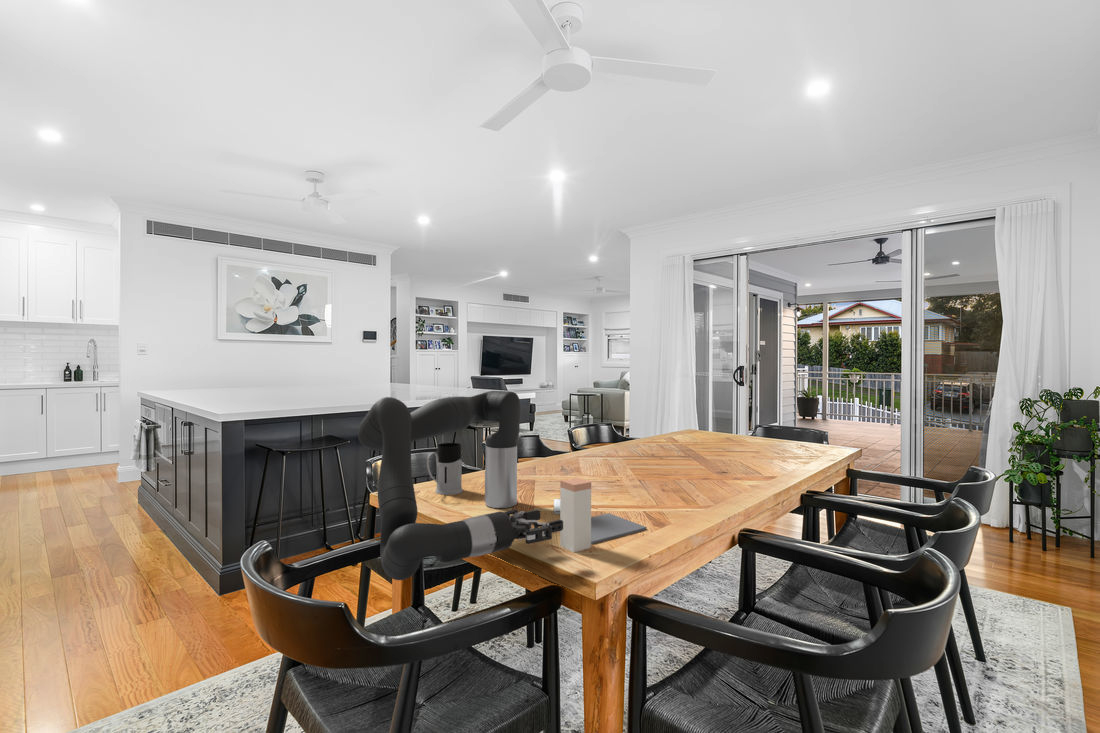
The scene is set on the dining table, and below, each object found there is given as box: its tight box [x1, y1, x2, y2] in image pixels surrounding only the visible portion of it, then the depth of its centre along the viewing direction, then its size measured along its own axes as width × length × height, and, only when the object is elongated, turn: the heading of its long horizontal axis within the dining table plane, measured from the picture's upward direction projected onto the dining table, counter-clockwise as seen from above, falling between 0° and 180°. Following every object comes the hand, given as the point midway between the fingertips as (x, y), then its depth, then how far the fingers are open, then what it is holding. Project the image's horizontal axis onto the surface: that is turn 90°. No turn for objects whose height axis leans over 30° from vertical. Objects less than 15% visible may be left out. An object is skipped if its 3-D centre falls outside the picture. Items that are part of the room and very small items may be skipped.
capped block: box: [559, 477, 592, 553], centre depth 116 cm, size 5×5×15 cm
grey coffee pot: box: [426, 442, 464, 496], centre depth 162 cm, size 9×14×15 cm, turn 150°
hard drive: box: [553, 498, 560, 515], centre depth 146 cm, size 2×8×12 cm
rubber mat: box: [591, 512, 648, 545], centre depth 129 cm, size 14×18×1 cm
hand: (550, 519), depth 112 cm, fingers open, 8 cm apart
